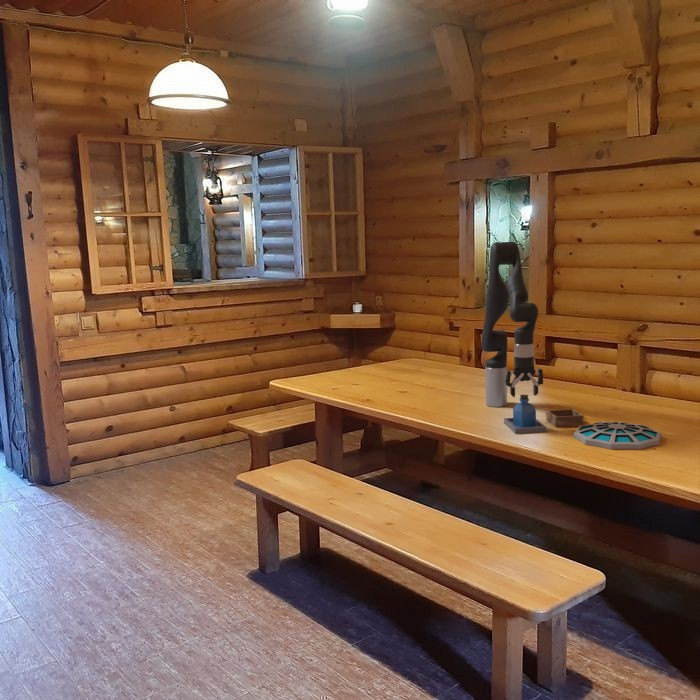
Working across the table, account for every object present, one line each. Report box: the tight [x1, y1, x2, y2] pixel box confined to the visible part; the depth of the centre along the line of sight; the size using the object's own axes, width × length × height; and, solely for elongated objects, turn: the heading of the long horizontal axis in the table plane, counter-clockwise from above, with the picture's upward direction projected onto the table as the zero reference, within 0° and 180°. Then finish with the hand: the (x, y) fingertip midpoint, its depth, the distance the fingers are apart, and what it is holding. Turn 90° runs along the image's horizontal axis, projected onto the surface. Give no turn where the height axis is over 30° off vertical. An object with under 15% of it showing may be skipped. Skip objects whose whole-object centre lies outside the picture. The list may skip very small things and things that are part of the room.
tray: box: [503, 417, 547, 435], centre depth 284 cm, size 16×12×2 cm
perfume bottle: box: [512, 394, 537, 428], centre depth 284 cm, size 6×6×12 cm
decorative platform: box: [573, 421, 663, 450], centre depth 265 cm, size 31×29×5 cm
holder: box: [545, 408, 585, 428], centre depth 288 cm, size 11×11×4 cm
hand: (524, 395), depth 283 cm, fingers open, 8 cm apart
